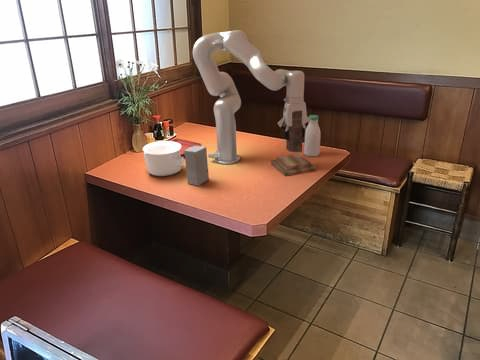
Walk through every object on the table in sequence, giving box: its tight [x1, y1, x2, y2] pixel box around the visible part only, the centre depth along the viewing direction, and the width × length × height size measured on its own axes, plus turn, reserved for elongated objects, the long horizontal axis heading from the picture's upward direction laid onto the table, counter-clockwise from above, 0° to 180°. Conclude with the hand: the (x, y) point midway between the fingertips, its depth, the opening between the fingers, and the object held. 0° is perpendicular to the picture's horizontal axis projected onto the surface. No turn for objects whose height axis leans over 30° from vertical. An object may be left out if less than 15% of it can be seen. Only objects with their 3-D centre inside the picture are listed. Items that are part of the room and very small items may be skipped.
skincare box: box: [184, 145, 210, 187], centre depth 182 cm, size 8×7×16 cm
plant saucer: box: [171, 137, 203, 158], centre depth 220 cm, size 18×18×3 cm
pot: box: [142, 140, 185, 177], centre depth 194 cm, size 22×17×12 cm
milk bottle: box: [303, 114, 322, 157], centre depth 207 cm, size 8×8×20 cm
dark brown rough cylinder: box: [285, 111, 303, 153], centre depth 189 cm, size 8×7×20 cm
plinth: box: [270, 153, 317, 177], centre depth 196 cm, size 16×16×4 cm
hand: (294, 137), depth 191 cm, fingers closed on dark brown rough cylinder, 7 cm apart
